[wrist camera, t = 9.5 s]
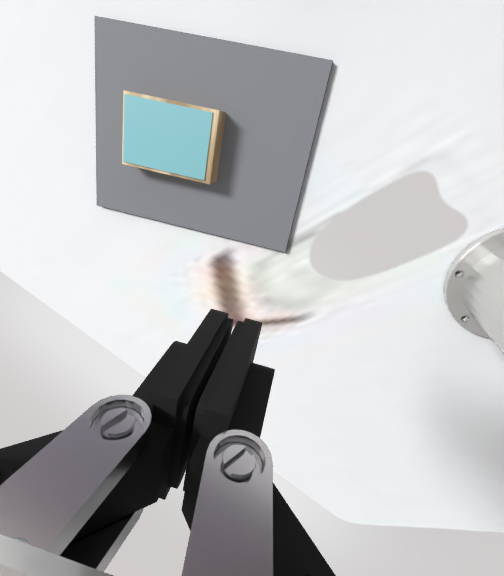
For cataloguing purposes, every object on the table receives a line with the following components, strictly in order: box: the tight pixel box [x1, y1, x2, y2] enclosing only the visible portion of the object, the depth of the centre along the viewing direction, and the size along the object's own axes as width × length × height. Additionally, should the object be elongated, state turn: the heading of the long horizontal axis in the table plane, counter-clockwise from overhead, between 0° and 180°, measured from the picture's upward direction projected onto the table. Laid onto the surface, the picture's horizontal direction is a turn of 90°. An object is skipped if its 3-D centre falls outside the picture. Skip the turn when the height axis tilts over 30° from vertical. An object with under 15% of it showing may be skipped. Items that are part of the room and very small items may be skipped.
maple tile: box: [122, 90, 226, 184], centre depth 35 cm, size 3×7×10 cm
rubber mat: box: [95, 16, 333, 252], centre depth 36 cm, size 24×19×1 cm
